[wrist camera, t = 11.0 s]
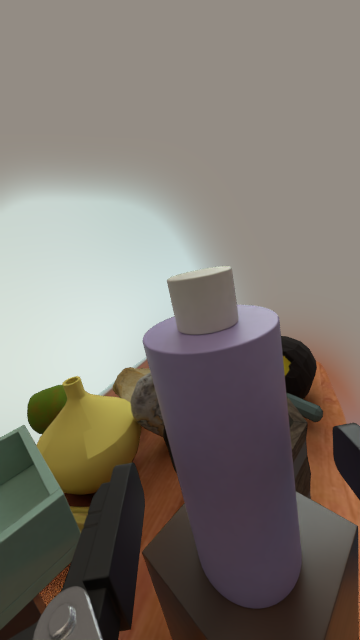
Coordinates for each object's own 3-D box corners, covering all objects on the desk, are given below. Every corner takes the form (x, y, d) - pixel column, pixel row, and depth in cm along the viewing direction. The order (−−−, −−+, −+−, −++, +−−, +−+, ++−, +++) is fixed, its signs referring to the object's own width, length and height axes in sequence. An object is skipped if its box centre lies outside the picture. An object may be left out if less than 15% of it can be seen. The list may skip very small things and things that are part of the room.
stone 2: (190, 455, 52) (229, 434, 49) (114, 427, 40) (161, 397, 37) (179, 408, 61) (212, 388, 58) (114, 373, 48) (153, 345, 45)
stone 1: (191, 411, 63) (193, 372, 62) (129, 429, 53) (130, 384, 52) (156, 390, 77) (158, 358, 76) (101, 401, 66) (102, 365, 66)
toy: (161, 393, 52) (243, 317, 66) (181, 432, 58) (253, 355, 72) (271, 469, 33) (354, 339, 47) (284, 516, 39) (354, 389, 53)
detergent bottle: (177, 547, 13) (103, 292, 9) (233, 476, 16) (194, 266, 13) (269, 649, 9) (207, 288, 6) (318, 530, 13) (299, 252, 9)
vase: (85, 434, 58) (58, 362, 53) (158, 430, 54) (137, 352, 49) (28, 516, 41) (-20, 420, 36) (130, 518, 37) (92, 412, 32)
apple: (42, 390, 68) (80, 378, 68) (52, 429, 67) (90, 417, 67) (15, 398, 57) (60, 383, 57) (26, 445, 56) (72, 429, 56)
